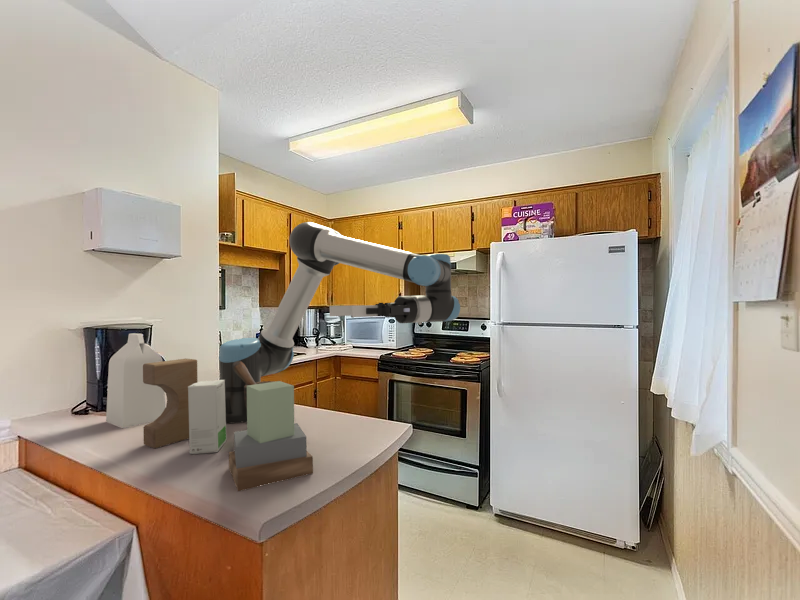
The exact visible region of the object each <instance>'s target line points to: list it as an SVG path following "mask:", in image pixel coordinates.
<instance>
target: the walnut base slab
mask: <svg viewBox="0 0 800 600" xmlns="http://www.w3.org/2000/svg"><path fill="white" fill-rule="evenodd" d="M313 462H314V458H313V455H312V454H311V453H310V452H309V451H308V450H307V456H306V457H301V458H295V459H289V460H283V461H278V462H272V463H266V464H261V465H255V466H249V467H244V468H238V469H236V460H235V452H234V450H233V451H229V452H228V470H229V472H230V475H231V478H232V480H233V482H234V484H235V487H236V489H237V491H238V492H241V490H242V491H245V489H246V490H249V489H253V488H258V487H261V486H260V485H263V486H265V485H264V484H267V485H269V484H268V483H271V484H273V483H272V482H275V483H278V482H277V481H279V482H283V481H287V479H288V480H292V479H296V478H299V477H303V476H308V475H313V474H312V473H314V468H313V467H314V463H313ZM295 477H296V478H295ZM291 478H292V479H291ZM282 480H283V481H282ZM257 486H258V487H257Z"/></svg>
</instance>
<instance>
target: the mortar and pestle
mask: <svg viewBox="0 0 800 600" xmlns="http://www.w3.org/2000/svg"><path fill="white" fill-rule="evenodd" d="M232 368H233V370H234V372H235V373H236V374H237V375H238V376H239V377H240V378H241V379H242V380H243V381H244V382H245V383H246V385H245V386H244V400H245V405H246V408H247V386H248V385H255V384H262V383H269V382H276V381H274V380H273V381H270V380H267V381H265V380H263V381H261V382H256V383H255V381H254V380H253V378H252V377H251V375H250V373H249V371H248V369H247V368H246V366H245V365H244V363H243V362H241V361H236V362H234V363H233V365H232Z"/></svg>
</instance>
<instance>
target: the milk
mask: <svg viewBox="0 0 800 600" xmlns="http://www.w3.org/2000/svg"><path fill="white" fill-rule="evenodd" d="M162 361H163V358H162V356H161V355H160V354H159V353H158V352H157V351H155V350H154V349H153V347H152V346H150V345H149V344H148V343H145V340H144V336H143V333H128V338H127V342H126V344H124V345H123V346H122V347H121V348H119V349H118V351H116V352H115V353H114V354H113V355H112V356H111V357H110V359H109V362H108V373H107V374H108V376H107V396H106V397H107V398H106V412H105V413H106V414H105V415H106V416H105V417H106V418H105V422H106V423H108V424H110V425H113V426H115V427H118V428H121V429H126V428H131V427H135V425H136V426H139V424H140V425H143V424H149V423H151V422H154V421H155V420H156V419H157V418H158V417H159V416H160V415H161V414H162V413H163V411H164V409H165V408H166V393H165V392H164V391H163V389H162V388H161V387H159V386H157V385H150V384H145V383H143V365H144V364H146V363H154V362H162Z"/></svg>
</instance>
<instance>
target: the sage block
mask: <svg viewBox="0 0 800 600" xmlns="http://www.w3.org/2000/svg"><path fill="white" fill-rule="evenodd" d="M294 423H295V386H294V385H293V384H290V383H287V382H284V381H281V380H277V381H275V382H269V383H262V384H255V385H248V386H247V422H246V428H247V429H246V430H247V435H249V436H250V437H252V438H253V439H255V440H256V441H258V442H259V443H264V442H268V441H272V440H276V439H280V438H284V437H288V436H292V435H294Z"/></svg>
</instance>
